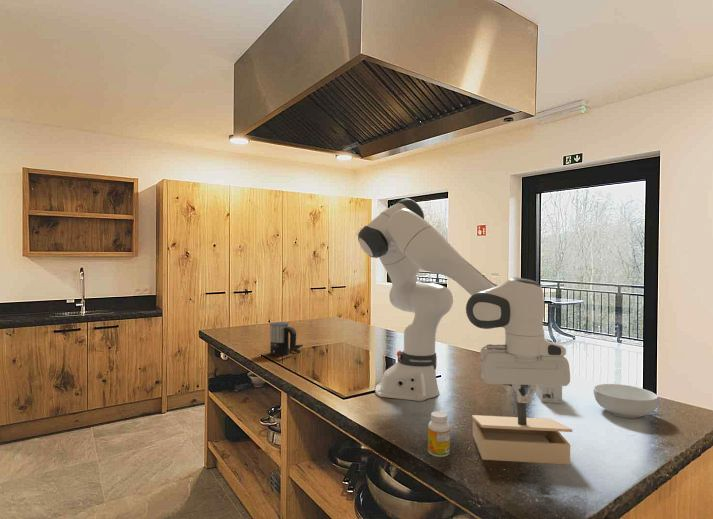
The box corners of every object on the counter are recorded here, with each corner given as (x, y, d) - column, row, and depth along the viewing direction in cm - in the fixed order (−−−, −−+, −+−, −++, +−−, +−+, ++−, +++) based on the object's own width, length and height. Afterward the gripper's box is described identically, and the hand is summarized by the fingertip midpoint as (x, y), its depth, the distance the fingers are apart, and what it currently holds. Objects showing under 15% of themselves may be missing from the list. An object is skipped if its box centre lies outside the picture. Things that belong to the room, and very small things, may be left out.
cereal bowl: (647, 408, 140) (648, 386, 140) (665, 427, 124) (666, 403, 124) (589, 401, 145) (589, 380, 145) (599, 419, 130) (599, 396, 130)
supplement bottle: (425, 448, 110) (425, 410, 109) (446, 447, 110) (446, 409, 110) (430, 458, 104) (431, 418, 104) (452, 457, 105) (453, 418, 104)
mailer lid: (481, 427, 103) (480, 385, 105) (471, 417, 117) (471, 380, 119) (572, 432, 101) (569, 389, 102) (551, 421, 115) (549, 383, 117)
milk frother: (266, 355, 205) (266, 324, 205) (278, 348, 220) (278, 319, 220) (295, 357, 202) (295, 325, 202) (305, 349, 218) (305, 320, 217)
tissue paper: (489, 456, 104) (489, 450, 104) (481, 437, 115) (481, 431, 115) (558, 460, 103) (558, 454, 103) (543, 440, 114) (543, 435, 114)
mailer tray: (482, 461, 103) (482, 440, 103) (472, 436, 117) (472, 417, 117) (569, 466, 101) (570, 444, 101) (549, 440, 115) (549, 421, 115)
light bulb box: (562, 404, 143) (563, 371, 143) (540, 402, 144) (541, 370, 144) (554, 393, 153) (555, 363, 153) (534, 392, 155) (534, 362, 154)
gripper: (482, 346, 102) (482, 405, 102) (573, 348, 100) (572, 408, 100) (478, 341, 109) (477, 396, 109) (562, 343, 107) (562, 399, 107)
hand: (524, 402), depth 105 cm, fingers closed, pressing on mailer lid
